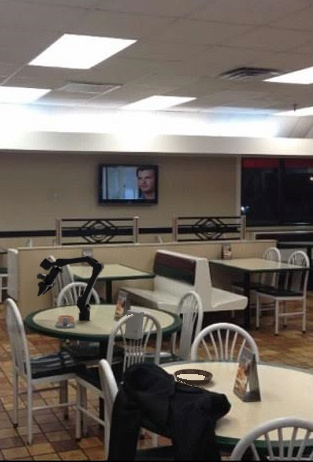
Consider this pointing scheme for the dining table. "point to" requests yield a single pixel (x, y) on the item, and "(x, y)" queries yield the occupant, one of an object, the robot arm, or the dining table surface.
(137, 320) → the skincare box
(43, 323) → the dining table surface
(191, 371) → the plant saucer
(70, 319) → the bowl
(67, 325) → the lid
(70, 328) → the mat
